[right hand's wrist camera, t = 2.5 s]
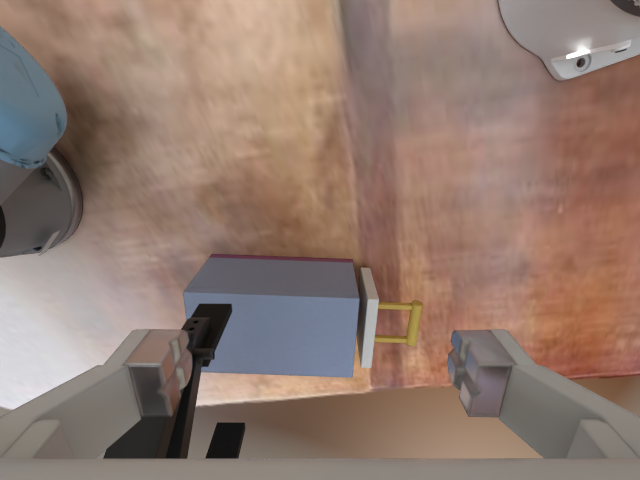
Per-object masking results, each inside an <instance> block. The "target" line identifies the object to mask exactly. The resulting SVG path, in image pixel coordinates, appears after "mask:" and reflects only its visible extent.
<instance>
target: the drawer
mask: <svg viewBox="0 0 640 480" xmlns="http://www.w3.org/2000/svg"><path fill="white" fill-rule="evenodd" d="M358 293H359V310H358V321H357V332H356V336H357V343H358V350H359V357H360V364H361V367H362V368H371V365H372V356H373V348H374V342H390V343H406V344H407V345H409V346H415V345H416V341H417V335H418V330H419V324H420V318H421V312H422V306H423V304H422V302H420V301H416V300H415V301H412V304H411V303H391V302H379V298H378V295H377V291H376V288H375V284H374V280H373V277H372V273H371V270H370V268H362V267H361V269H360V281H359V292H358ZM378 309H396V310H411V311H410V317H409V323H408V330H407V336H386V335H375V330H376V322H377V313H378Z"/></svg>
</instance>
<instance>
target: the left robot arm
mask: <svg viewBox="0 0 640 480" xmlns="http://www.w3.org/2000/svg"><path fill="white" fill-rule="evenodd" d="M66 126H67V112H66V108H65V105H64V102H63V99H62V97H61V95H60V93H59V92H58V90H57V88H56V86H55V85H54V83H53V82H52V80H51V79H50V77H49V76H48V75H47V73H46V72H45V71H44V70H43V68H42V67H41V66H40V65H39V63H38V62H37V61H36V60H35V59H34V58H33V57H32V56H31V55H30V54H29V53H28V52H27V51H26V50H25V49H24V48H23V47H22V46H21V45H20V44H19V43H18V42H17V41H16V40H15V39H14V38H13V37H12V36H11V35H10V34H9V33H8V32H7V31H5V30H4V29H3V28H2V27H1V26H0V258H1V257H9V256H16V255H23V254H33V253H39V252H41V253H40V254H39V255H41V254H43V253H45V252H46V251H47V250H48V249H50V248H52V247H54V246H56V245H58V244H60V243H61V242H63V241H65V240H66V239H67V238H69V237H70V236H71V235H72V234H73V232H74V231H75V230H76V228H77V226H78V224H79V222H80V219H81V215H82V195H81V190H80V187H79V184H78V181H77V179H76V177H75V174H74V172H73V171H72V169H71V167H70V166H69V164H68V163H67V161H66V160H65V159H64V158H63V156H62V155H61V154H60V153H59V152H58V151H57V150H56V149H55V148H54V145H55V144H56V143H57V142H58V140H59V139H60V138H61V137H62V135H63V134H64V132H65V129H66ZM231 313H232V304H199V305H198V306H197V308H196V309H195V311H194V313H193V314H192V316H191V318H189V319H187V321H186V323H185V325H184V326H183V328H182V329H181V330H185V331H186V332H187V333H188V337H189V343H188V345H187V347H186V349H187V350H188V351H189V352H190V353H191V354H192V372H191V377H190V379H189V382H188V384H187V386H185V387H184V388H183V389H181V390H180V395H181V399H180V401H179V403H178V405H177V407H176V409H175V411H174V413H173V415H172V417H141V420H140V421H138V422H137V423H136V424H135V425H134V426H133V427H131V428H130V429H129V430H128V431H127V432H126V433H125V434H123V435H122V436H121V437H120V438H119V439H118V440H116V441H115V442H114V443H113V444H112V445H111V446H110V447H108V448H107V450H106V452H105V455H104V458H103V459H187V456H188V449H189V443H190V437H191V431H192V424H193V418H194V412H195V406H196V399H197V393H198V387H199V381H200V374H201V368H202V367H208V366H209V364H210V362H211V360H214V359H215V350H216V348H217V346H218V343H219V341H220V339H221V336H222V334H223V332H224V330H225V327H226V325H227V323H228V320H229V318H230V316H231ZM244 432H245V423H217V425H216V428H215V431H214V434H213V437H212V440H211V443H210V446H209V449H208V452H207V455H206V458H205V459H238V457H239V453H240V449H241V445H242V440H243V436H244Z"/></svg>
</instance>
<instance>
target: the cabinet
mask: <svg viewBox="0 0 640 480" xmlns="http://www.w3.org/2000/svg"><path fill="white" fill-rule="evenodd" d="M183 296H184V304H185V311H186V319H189V318H191V316H192V314H193V313H194V311H195V309H196V308H197V306H198V305H199V304H232V313H231V316H230V318H229V320H228V323H227V325H226V327H225V330H224V332H223V334H222V336H221V339H220V341H219V343H218V346H217V348H216V350H215V359H214V360H211V362H210V364H209V366H208V367H202V368H201V372H214V373H241V374H269V375H297V376H325V377H353V366H354V354H355V343H356V332H357V321H358V310H359V293H358V288H357V282H356V277H355V272H354V266H353V260H352V259H330V258H303V257H276V256H249V255H222V254H211V255H210V257H209V259H208V260H207V261H206V263H205V264H204V265H203V266H202V268H201V269H200V270H199V272H198V273H197V274H196V276H195V277H194V278H193V280H192V281H191V282H190V284H189V285H188V286H187V288H186V289H185V290H184V292H183Z"/></svg>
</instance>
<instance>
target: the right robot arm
mask: <svg viewBox="0 0 640 480" xmlns="http://www.w3.org/2000/svg"><path fill="white" fill-rule="evenodd" d="M498 1H499V7H500V11H501V15H502V18H503V21H504V23H505V25H506V27H507V29H508V31H509V32H510V34H511V35H512V36H513V38H514V39H515V40H516V41H517V42H518V43H519V44H520V45H521V46H523V47H524V48H525V49H527V50H529V51H530V52H532V53H534V54H535V55H537V56H538V57H540V58H541V59H542V60H543V62H544V64H545V66H546V67H547V69H548V71H549V72H550V74H551V75H552V76H553V77H554V78H555V79H556V80H558V81H564V80H568V79H571V78H574V77H577V76H580V75H583V74H586V73H589V72H591V71H594V70H597V69H600V68H603V67H606V66H608V65H611V64H614V63H617V62H620V61H623V60H625V59H628V58H631V57H634V56H637V55H640V0H498ZM578 59H579V60H580V65H579V67H577V65H576V63H577V61H578ZM188 343H189V337H188V333H187V332H186V331H185V330H164V329H153V330H151V329H136V330H133V331H132V332H131V333H130V334H129V335H128V336H127V338H126V339H125V340H124V341H123V342H122V344H121V345H120V346H119V347H118V348H117V349H116V351H115V352H114V353H113V354H112V355H111V356H110V358H109V359H108V360H107V361H106V362H105V364H104V365H97V366H95V367H94V368H92V369H90V370H88V371H86V372H84V373H82V374H80V375H78V376H77V377H75V378H73V379H71V380H69V381H67V382H65V383H63V384H61V385H59V386H58V387H56V388H54V389H52V390H50V391H48V392H46V393H44V394H42V395H40V396H39V397H37V398H35V399H33V400H31V401H29V402H27V403H25V404H23V405H22V406H20V407H18V408H16V409H14V410H12V411H10V412H8V413H6V414H4V415H3V416H1V417H0V480H640V417H639V416H637V415H635V414H633V413H631V412H630V411H628V410H626V409H624V408H622V407H620V406H618V405H616V404H614V403H613V402H611V401H609V400H607V399H605V398H603V397H601V396H599V395H597V394H596V393H594V392H592V391H590V390H588V389H586V388H584V387H582V386H580V385H579V384H577V383H575V382H573V381H571V380H569V379H567V378H565V377H563V376H562V375H560V374H558V373H556V372H554V371H552V370H550V369H548V368H546V367H545V366H543V365H536V364H535V362H534V361H533V360H532V359H531V358H530V356H529V355H528V354H527V353H526V352H525V351H524V349H523V348H522V347H521V346H520V345H519V344H518V342H517V341H516V340H515V339H514V338H513V336H512V335H511V334H510V333H509V332H508V331H507V330H505V329H487V330H454V331H453V333H452V337H451V343H452V345H453V347H454V349H453V350H452V351H451V352H450V353H449V354H448V362H447V363H448V373H449V376H450V379H451V382H452V384H453V386H455V387H456V388H457V389H459V390H460V395H459V398H460V401H461V403H462V405H463V407H464V409H465V411H466V413H467V415H468V416H469V417H499V419H500V420H501V421H502V422H503V423H504V424H505V425H506V426H508V427H509V428H510V429H511V430H512V431H513V432H514V433H516V434H517V435H518V436H519V437H520V438H521V439H522V440H524V441H525V442H526V443H527V444H528V445H530V446H531V447H532V448H533V449H534V450H535V451H536V452H537V453H539V454H540V455H541V456H542V457H543V458H541V459H539V458H538V459H534V458H533V459H373V458H372V459H371V458H364V459H362V458H354V459H353V458H352V459H350V458H349V459H96V458H97V457H98V456H99V455H100V454H101V453H103V452H104V451H105V450H106V449H107V448H108V447H110V446H111V445H112V444H113V443H114V442H115V441H116V440H118V439H119V438H120V437H121V436H122V435H123V434H125V433H126V432H127V431H128V430H129V429H130V428H131V427H133V426H134V425H135V424H136V423H137V422H138V421H140V420H141V417H172V415H173V413H174V411H175V409H176V407H177V405H178V403H179V401H180V399H181V395H180V390H181V389H183V388H184V387H185V386H187V384H188V382H189V379H190V377H191V372H192V354H191V353H190V352H189V351H188V350H187V349H186V347H187V345H188Z"/></svg>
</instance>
